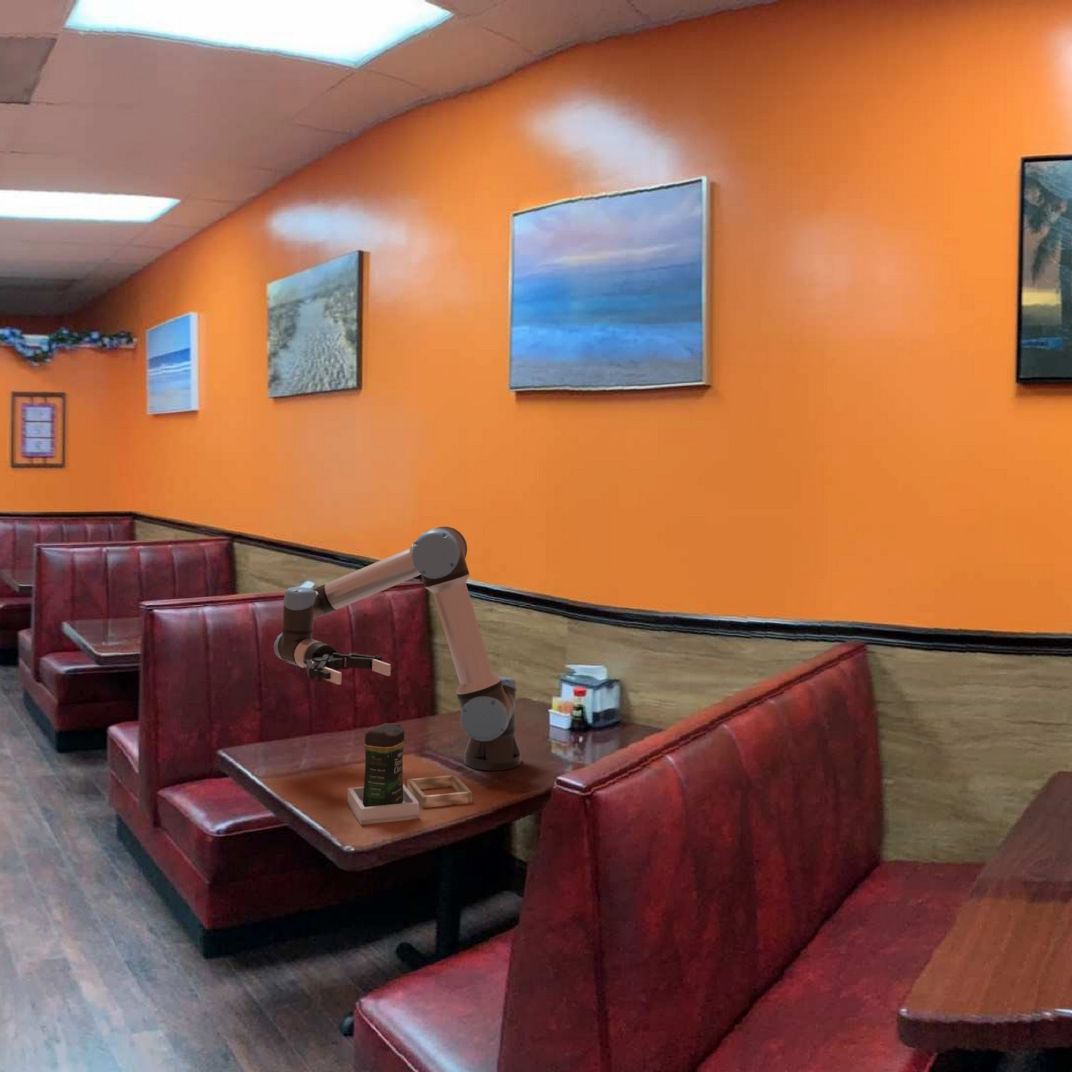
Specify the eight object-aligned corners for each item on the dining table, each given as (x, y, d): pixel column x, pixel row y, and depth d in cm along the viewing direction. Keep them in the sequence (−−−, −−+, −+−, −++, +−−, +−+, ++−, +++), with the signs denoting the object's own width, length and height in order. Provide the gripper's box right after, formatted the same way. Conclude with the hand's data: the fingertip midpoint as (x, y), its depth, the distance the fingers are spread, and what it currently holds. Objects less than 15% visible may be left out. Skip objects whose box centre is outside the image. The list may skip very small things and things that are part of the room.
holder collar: (454, 784, 250) (454, 774, 250) (472, 802, 237) (472, 792, 237) (407, 789, 246) (407, 779, 246) (422, 808, 233) (422, 797, 233)
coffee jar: (389, 815, 225) (390, 732, 223) (357, 810, 227) (358, 729, 226) (408, 802, 234) (410, 722, 232) (377, 797, 236) (378, 719, 235)
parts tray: (402, 797, 240) (402, 783, 240) (418, 818, 226) (419, 803, 226) (347, 802, 235) (347, 788, 235) (360, 824, 221) (361, 809, 221)
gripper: (358, 664, 260) (408, 682, 245) (270, 679, 243) (318, 698, 228) (359, 636, 260) (409, 651, 244) (271, 648, 242) (318, 666, 227)
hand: (365, 674), depth 236 cm, fingers open, 13 cm apart
